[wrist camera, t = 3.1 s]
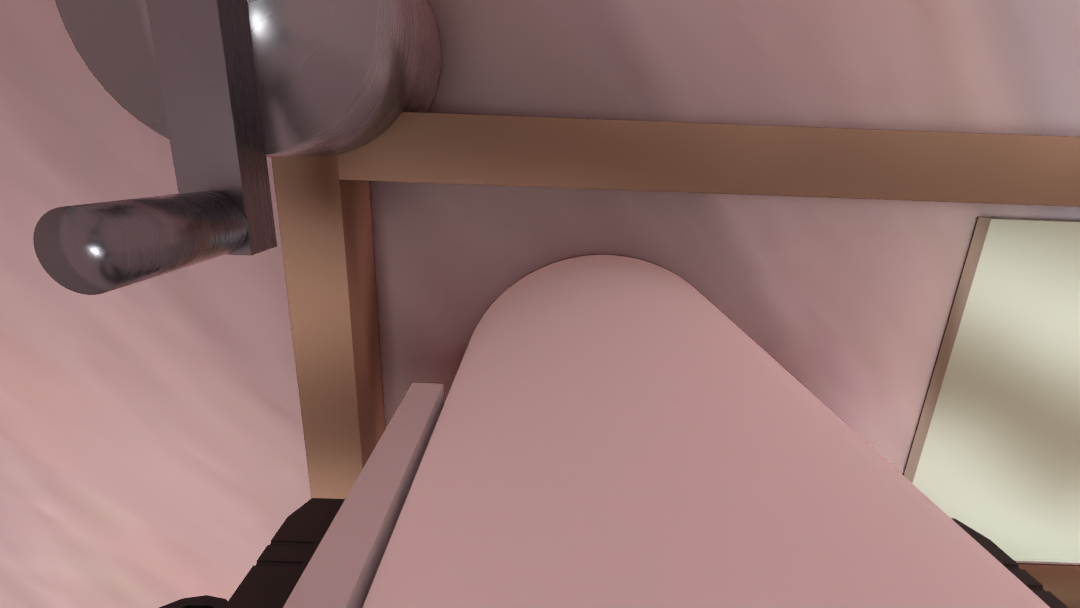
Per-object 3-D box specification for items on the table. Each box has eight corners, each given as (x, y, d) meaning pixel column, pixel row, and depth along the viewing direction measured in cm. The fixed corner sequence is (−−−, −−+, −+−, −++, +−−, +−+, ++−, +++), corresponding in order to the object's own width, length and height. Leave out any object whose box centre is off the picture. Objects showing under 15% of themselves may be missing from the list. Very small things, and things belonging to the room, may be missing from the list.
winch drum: (225, -71, 12) (-430, -531, 4) (438, -63, 12) (222, -505, 4) (260, 209, 14) (-128, 286, 6) (444, 216, 14) (307, 302, 6)
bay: (307, 114, 13) (265, 107, 11) (1308, 150, 13) (1441, 150, 11) (350, 576, 17) (326, 628, 15) (1098, 601, 17) (1168, 657, 15)
